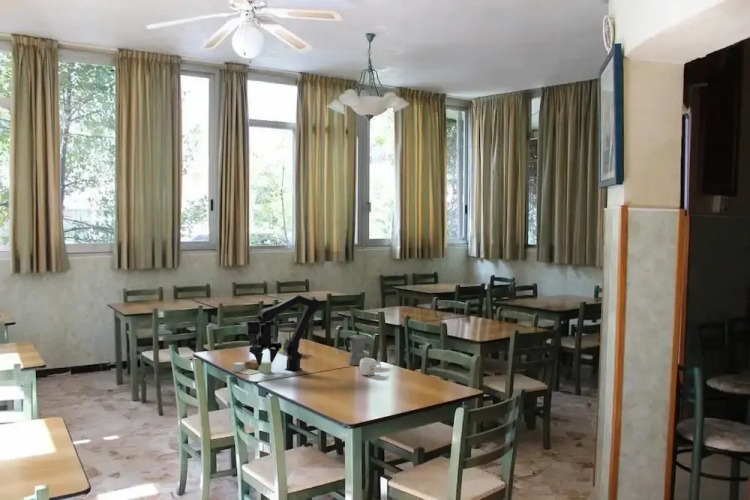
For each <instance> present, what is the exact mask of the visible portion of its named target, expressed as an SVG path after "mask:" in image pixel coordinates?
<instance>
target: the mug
mask: <svg viewBox="0 0 750 500" xmlns="http://www.w3.org/2000/svg"><path fill="white" fill-rule="evenodd" d="M377 364H378V365H379V369H378V370H376V369H377ZM381 368H382V364H381V362H380V361H376V359H375V358H370V357H364V359H361V360H360V366H359V371H360V373H361V375H362V376H364V375H372V376H373V375H375V373H379V372H380V371H381Z"/></svg>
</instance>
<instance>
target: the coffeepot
mask: <svg viewBox="0 0 750 500" xmlns="http://www.w3.org/2000/svg"><path fill="white" fill-rule="evenodd" d="M355 333H356V334H354V335H349V336H346V337H345V339H344V341H343V342H344V345H345V349H346V352H347V353H350V354H349V357H348V358H349V359H348V364H349V365H350V364H351V365H350V366H353V365H360V360H361V359H364V358H365V352H364V350H365V346H366V340H367V338H368V336H367V335H361V334H360V331H355ZM348 341H349V342H348ZM348 343H349V344H348ZM349 347H350V349H349Z"/></svg>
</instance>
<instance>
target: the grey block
mask: <svg viewBox="0 0 750 500" xmlns="http://www.w3.org/2000/svg"><path fill="white" fill-rule="evenodd" d="M245 370H246V369H245V362H241V361H240V362H239V361H237V362H234V363H232V372H234V373H240V372H241V371H245Z"/></svg>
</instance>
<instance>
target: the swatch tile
mask: <svg viewBox="0 0 750 500" xmlns="http://www.w3.org/2000/svg"><path fill="white" fill-rule="evenodd" d="M258 373H261V372H260V371H259V370H250V369H245V371H241V372H239V374H244V375H249V376H250V375H252V376H253V375H254V374H258Z"/></svg>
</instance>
